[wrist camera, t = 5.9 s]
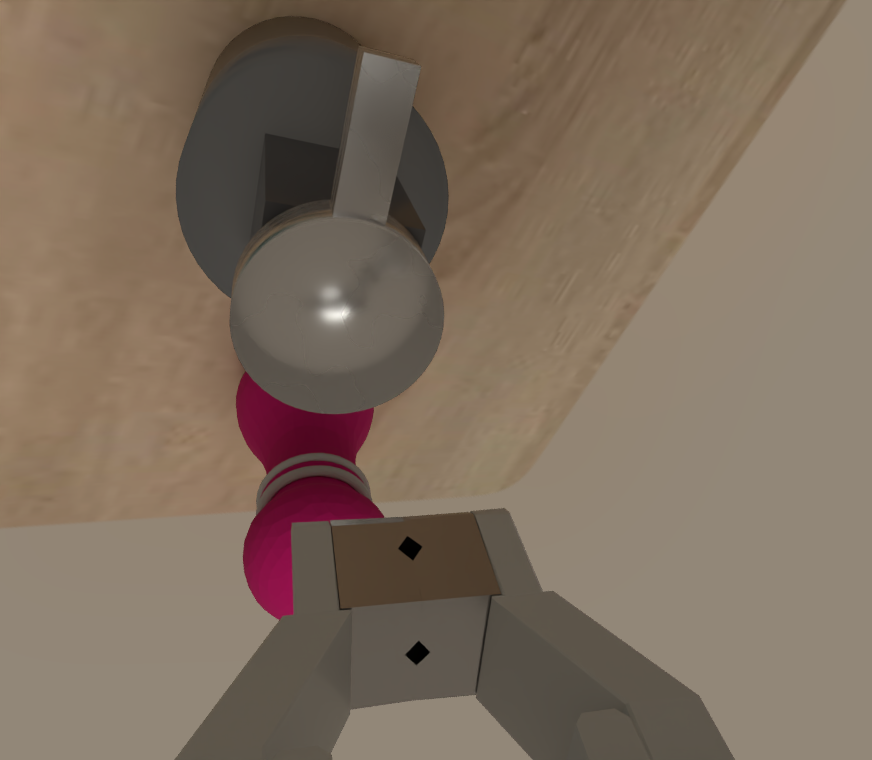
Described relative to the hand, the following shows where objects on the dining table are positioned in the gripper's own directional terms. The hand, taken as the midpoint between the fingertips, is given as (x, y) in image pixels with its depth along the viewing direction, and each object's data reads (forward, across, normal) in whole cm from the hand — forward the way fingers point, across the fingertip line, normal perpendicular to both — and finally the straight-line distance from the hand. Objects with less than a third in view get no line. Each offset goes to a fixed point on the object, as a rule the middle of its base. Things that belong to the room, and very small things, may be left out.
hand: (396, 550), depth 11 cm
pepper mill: (+31, 0, +15) cm, 35 cm away
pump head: (+17, 0, -1) cm, 17 cm away
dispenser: (+31, 0, +1) cm, 31 cm away
